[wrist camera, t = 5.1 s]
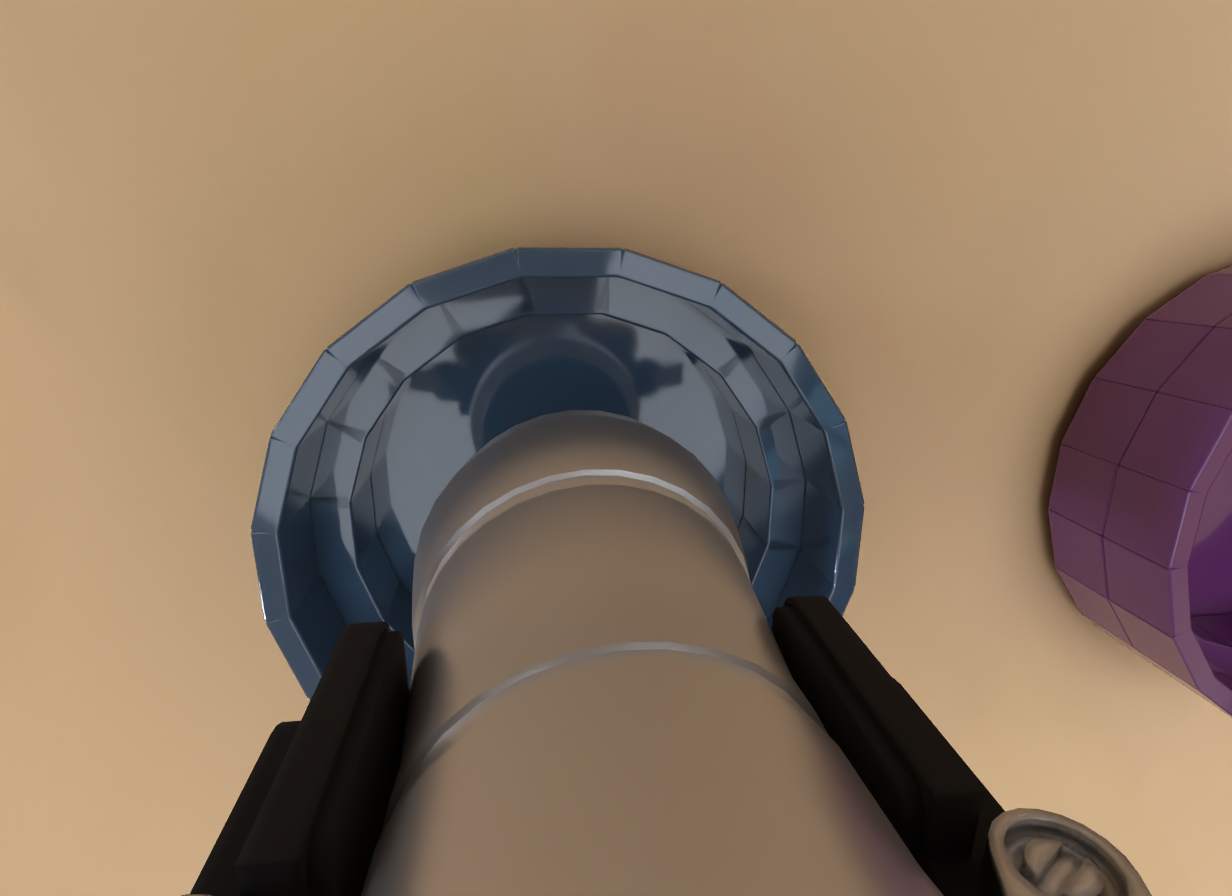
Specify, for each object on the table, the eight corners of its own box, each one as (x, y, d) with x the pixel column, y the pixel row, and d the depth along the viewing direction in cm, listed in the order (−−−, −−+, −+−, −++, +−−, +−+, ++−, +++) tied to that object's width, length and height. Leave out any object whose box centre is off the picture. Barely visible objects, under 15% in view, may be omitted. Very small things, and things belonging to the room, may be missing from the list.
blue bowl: (289, 246, 18) (203, 246, 13) (806, 248, 20) (894, 248, 15) (347, 705, 22) (297, 832, 17) (772, 674, 24) (833, 782, 19)
